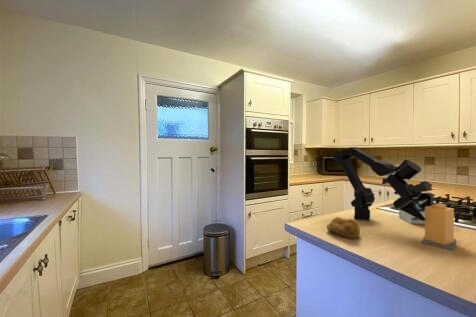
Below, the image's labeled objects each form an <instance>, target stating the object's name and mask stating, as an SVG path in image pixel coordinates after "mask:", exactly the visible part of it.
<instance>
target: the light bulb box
mask: <svg viewBox="0 0 476 317" xmlns="http://www.w3.org/2000/svg"><path fill="white" fill-rule="evenodd" d="M398 198H400V196H398ZM416 207H417V209H418V210H419V211H420V213H421V214H422V215H423V217H424V218H425V210H423V209H422V208H420V207H419V205H418V204H416ZM398 217H399V218H400V219H402V220H404V221H406V222H407V223H410V224H416V225H417V224H422V225H423V224H424V225H425V220H424V221H422V220H420V219H418V218H416V217H414V216H412V215H410V214H408V213H406V212H404V211H402V210H399V209H398Z"/></svg>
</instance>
